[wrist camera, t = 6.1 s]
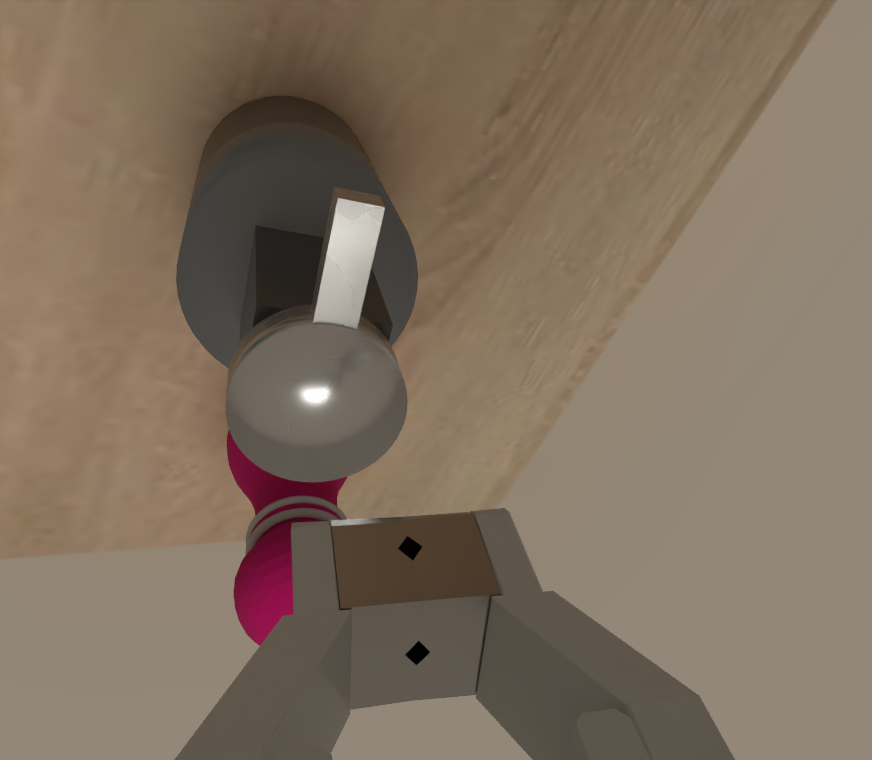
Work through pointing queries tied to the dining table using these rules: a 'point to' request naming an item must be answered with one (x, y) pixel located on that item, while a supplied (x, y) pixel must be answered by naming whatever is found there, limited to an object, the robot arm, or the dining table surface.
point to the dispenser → (280, 223)
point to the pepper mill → (273, 539)
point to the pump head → (321, 366)
